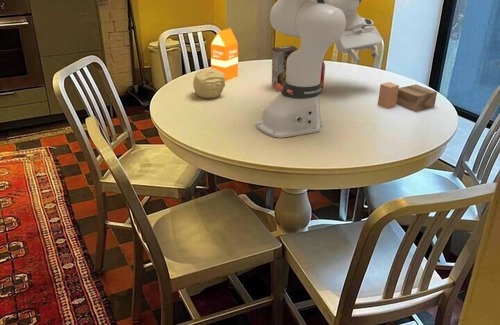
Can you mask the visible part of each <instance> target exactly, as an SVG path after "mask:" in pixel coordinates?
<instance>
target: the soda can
mask: <svg viewBox="0 0 500 325" xmlns="http://www.w3.org/2000/svg"><path fill="white" fill-rule="evenodd" d="M325 71H326V63H325V60H324V59H323V62H322V69H321V78H320V82H321V91H322V90H323V89H324V84H325V76H326V73H325Z"/></svg>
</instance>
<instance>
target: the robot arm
mask: <svg viewBox="0 0 500 325" xmlns="http://www.w3.org/2000/svg"><path fill="white" fill-rule="evenodd" d="M361 3H362V0H277V1H276V2H275V3H274V4H273V5H272V8H271V10H270V12H269V22H270V26H271V28H273V29H274V30H275V31H277V32H278V33H280V34H283V35H285V36H289V37H295V38H299V39H300V45H299V48H297V49H298V50H296V51H294V52H292V53H291V54H290V55H289V56H288V58H287V67H286V80H285V82H284V84H283V85H281V84H279V83H277V84H276V85H275V88H276V89H277V90H279V91H278V92H280V93H279V94H278V95H277V96H276V97H275V98H274V99H273V100H272V101H271V102H270V103H269V104H268V105H267V106H265V108H264V111H263V115H262V118H261V119H260V120H256V121H255V126H256V129H258V130H259V131H261V132H262V133H264V134H266V135H268V136H270V137H274V138H279V139H282V138H283V139H284V138H288V137H296V136H301V135H308V134H314V133H319V132H321V126H322V125H323V121H322V117H321V108H320V107H321V106H320V105H321V102H320V101H321V100H320V97H321V96H320V95H321V93H322V90H321V82H320V78H321V69H322V62H323V60H324V57H325V55H326V53H327V51H328V49H329V48H330V47H331V45H333V43H334V44H335V47H336V49H337V51H338V52H339V54H341V55H342V54H348V56H349V57H351V58H352V59H353V61H354V62H356V63H357V62H359V61H360V60H361V57H360V55H359V54H357V53H356V52H357V51H359V52H360V51H363V50H369V49H370V51H372V53H371V57H372V58H373V59H376V58H378V57H379V56H380V55H379V53H378V47H379V46H380V45H381V44H382V43H383V39H382V36H381V34H380V32H379V31H378V29H377V28H376V26H374V21H373V20H372V19H370V18H365V17H362V16H360V15H359V13H358V12H357V9H358V8H359V7H360V5H361Z"/></svg>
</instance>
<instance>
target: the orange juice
mask: <svg viewBox="0 0 500 325" xmlns="http://www.w3.org/2000/svg"><path fill="white" fill-rule="evenodd" d="M238 47H239V43H238V41H237V39H236V37H235V34H234V33H233V30H232V29H231V28H227V29H223V30H219V31H217V33H216V35H215V36H214V39H212V42H211V44H210V65H211V66H210V67H211V68H210V69H213V68H215V69H216V70H218V71H221V72H223V73H224V75H225V81H226V82H228V81H230V80H229V79H231V80H233V79H235V78H234V77H236V78H238V77H239V48H238ZM237 76H238V77H237ZM232 78H233V79H232ZM227 80H228V81H227Z"/></svg>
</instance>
